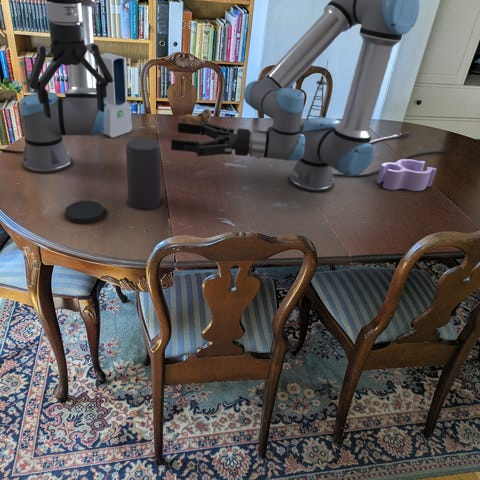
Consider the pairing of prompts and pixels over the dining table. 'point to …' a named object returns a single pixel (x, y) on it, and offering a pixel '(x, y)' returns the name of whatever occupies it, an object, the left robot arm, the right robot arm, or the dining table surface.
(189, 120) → the lion figurine
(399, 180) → the clip
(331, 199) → the dining table surface
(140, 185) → the jar
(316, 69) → the miniature windmill
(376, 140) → the sword
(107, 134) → the electronic device
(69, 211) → the lid
